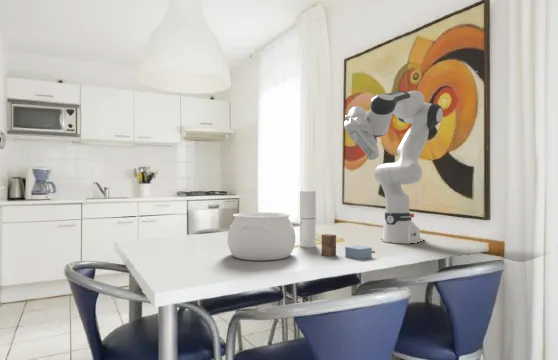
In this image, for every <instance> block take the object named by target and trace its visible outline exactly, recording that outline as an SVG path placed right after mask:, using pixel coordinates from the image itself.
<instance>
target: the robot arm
mask: <svg viewBox="0 0 558 360" xmlns="http://www.w3.org/2000/svg"><path fill="white" fill-rule="evenodd" d="M425 99H426V98H425V95H424V94H423V93H422V92H421V91H419V90H410V91H407V92H406V91H404V90H397V91H392V92H388V93H379V94H376V95H375V96H373V97H372V98H371V101H370V107H369V112H368V111H366V109H365V108H364V107H362V106H360V105H356V106H353V107H352V108H350V110H349V111H348V113H347V115H345V117H344V118H345V121H344V122H343V123H344V124H343V128H344V130H345V131H346V132H347V134H348V135H349V138H350V139H351V140H352V141H353V142H354V143H355V145H358V146H359V148H360V149H361V150H362V151H363V153H365V155H366V157H367V158H368V160H369V161H375V160H376V159H377V158H379V157H380V151H379V146H378V143H379V142H378V139H377V138H380V137H383V136H385V135H387V134H388V132H389V128H390V124H391V122H392V118H393V116H395V117H396V118H397V119H398V121H399V122H401V123H404V124H406V123H407V124H411V126H410V127H409V128H408V129H407V131H406V133H405V134H404V136H403V137H402V140H401V142H400V144H399V146H398V147H397V150H396V153H397V156H398V157H399V159H398V161H395V162H385V163H381V164H379V165H377V166H376V168H375V170H374V178H375V180H376V181H377V182H378V183H379V184H380V186H381V188H382V191H383V193H384V197H385V198H384V199H385V212H384V220H385V222H384V223H383V226H382V227H383V228H382V237H380V240H381V239H382V242H385V243H390V242H391V244H410V243H415V244H418V243H417V242H419V243H421V242H420V241H422V242H424V241H423V240H425V241H426V239H425V238H423V237H421V233H420V232H421V231H420V227H418V226H417V225H416V224H415V223H414V222H413V221H412V220H413V218H415V213H410V197H409V195H408V194H407V193H405V192H404V190H403V188H402V185H411V184H412V185H413V184H416V183H418V182H419V181H420V180H422V175H423V170H422V167H421V166H420V164H419V157H420V156H421V154H422V151H423V150H424V148H425V145H426V143H427V140H428V138H429V133H430V132H429V130H433V128H435V127H436V126H437V125H439V123H440V122H441V121H442V118H443V115H444V112H443V107H442V106H441V105H440V104H436V103H429V102H425Z"/></svg>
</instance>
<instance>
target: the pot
mask: <svg viewBox="0 0 558 360" xmlns="http://www.w3.org/2000/svg"><path fill="white" fill-rule="evenodd" d="M232 216H233V217H234V219H233V220H232V222H231V224H230V226H229V228H228V233H227V246H228V249H229V251H230V253H231V255H232V256H233V257H234V258H236V259H239V260H243V261H251V262H252V261H254V262H256V261H257V262H267V261H278V260H282V259H285V258H288V257H290V255H291V254H292V253H293V251H294V248H295V246H296V245H295V244H296V232H295V231H296V230H295V227H294V225H293V224H292V222H291V220H290V218H289V217H291V214H290V213H284V212H240V213H239V212H238V213H233V214H232Z"/></svg>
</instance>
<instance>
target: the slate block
mask: <svg viewBox="0 0 558 360" xmlns="http://www.w3.org/2000/svg"><path fill="white" fill-rule="evenodd" d="M372 248H373V247H370V246H365V245H359V244H358V245H357V244H356V245H350V246H345V249H344V250H345V253H344V254H345V257H346V258H351V259H355V260H359V259H360V260H364V259H365V258H366V259H370V258H372V255H373V253H372V251H373V249H372Z"/></svg>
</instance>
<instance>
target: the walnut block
mask: <svg viewBox="0 0 558 360" xmlns="http://www.w3.org/2000/svg"><path fill="white" fill-rule="evenodd" d="M321 256H326V257H334V256H337V234H334V233H333V234H332V233H326V234H325V233H323V234H321Z"/></svg>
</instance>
